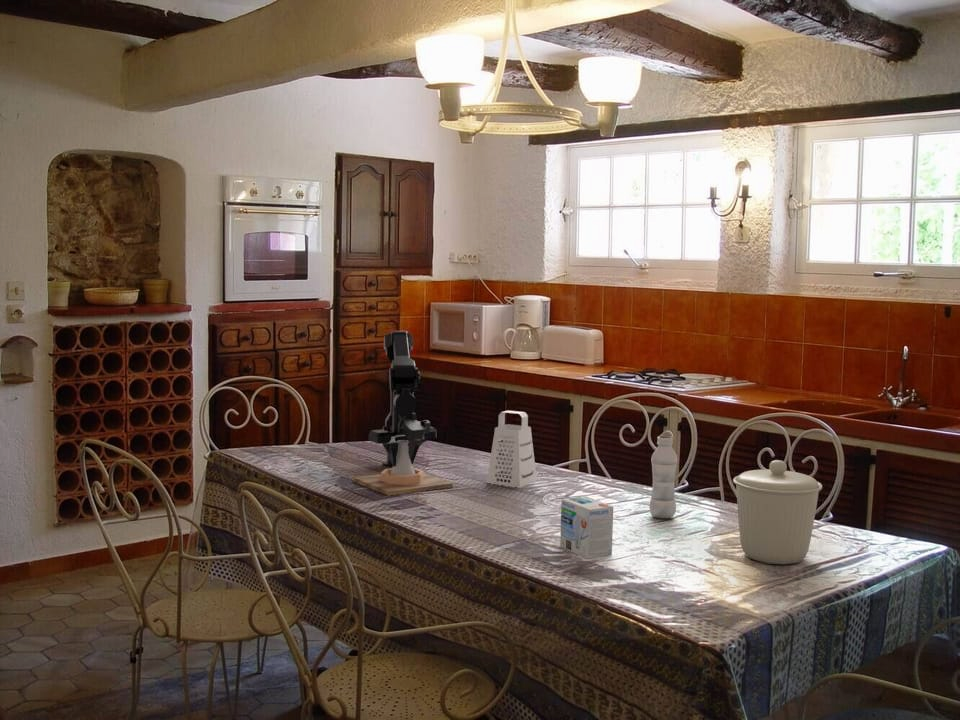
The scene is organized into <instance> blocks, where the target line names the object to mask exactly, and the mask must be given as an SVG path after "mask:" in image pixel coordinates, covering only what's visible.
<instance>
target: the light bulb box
mask: <svg viewBox="0 0 960 720" xmlns="http://www.w3.org/2000/svg"><path fill="white" fill-rule="evenodd" d="M560 507H561V511H560V512H561V513H560V535H559V537H560V538H559V539H560V541H559V547H561V548H563V549H565V550H567V551H569V552H571V553H573V554H575V555H577V556H579V557H582V558H584V559H585V560H592V559H598V558H602V557H603V558H604V557H609V556H613V530H614V529H613V528H614V527H613V526H614V505H610V504H608V503H605V502H602V501H600V500H596V499H594V498H592V497H588V496H585V495H584V496H583V495H582V496H578V497H569V498H564V499H563V498H562V499H561V506H560Z"/></svg>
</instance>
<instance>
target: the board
mask: <svg viewBox="0 0 960 720" xmlns="http://www.w3.org/2000/svg"><path fill="white" fill-rule="evenodd" d="M352 479H353V480H352V482H353V483H356V484H358V485H360V486H362V487H365V486H366V488H367V489H370V488H371V489H370V490H373V491H375V490H376V492H378V493H380V492H381V493H380V494H383V495H385V494H386V495H385V496H387V497H391V496H390V495H393V496H398V495H397V494H400V495H404V494H403V493H407V494H412V493H411V492H415V493H420V492H419V491H422V492H427V491H426V490H430V491H434V490H433V489H437V490H441V489H440V488H445V489H449V488H448V487H452V488H453V482H450V481H447V480H444V479H442V478H439V477H436V476H434V475H430V474H428V473H425V472H424V480H423V481H422V482H421V483H417V484H409V485H397V484H388V483H385V482H383V481H381V473H380V474H371V475H363V476H355V477H353V478H352Z"/></svg>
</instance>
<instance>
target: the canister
mask: <svg viewBox="0 0 960 720" xmlns="http://www.w3.org/2000/svg"><path fill="white" fill-rule="evenodd" d="M768 466H769V467H768V469H753V470H747V471H744V472H742V473H740V474H738V475H737V476H734V478H733V479H732V481H733V483H734V485H736V488H735V489H736V500H737V501H736V502H737V518H738V519H737V520H738V528H739V538H740V545H741V549H742V551H743V552H744V554H745V556H747V557H748V558H750V559H752V560H753V561H757V562H760V563H764V564H770V565H792V564H798V563H800V562H802V561H803V560H804V559H805V558H806V557H807V554H808V552H809V549H810V545H811V539H812V534H813V528H814V523H815V516H816V512H817V505H818V499H819V493H820V491H822V489H823V485H822V483H821V482H819V481H817V480H816V479H815V478H814V477H812V476H810V475H807V474H804V473H800V472H796V471H790V470H787V468H788V467H787V463H786V462H785V461H783V460H781V459H780V460H779V459H775V460H772V461H770V463H769V465H768Z"/></svg>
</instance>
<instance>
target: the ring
mask: <svg viewBox="0 0 960 720" xmlns="http://www.w3.org/2000/svg"><path fill="white" fill-rule="evenodd" d="M392 468H393V467H390V468H385V469H383V470H382V471H381V472H380V474H381V481H383V482H385V483H388V484H397V485H409V484H417V483H421V482H422V481H423V480H424V473H425V471H424V470H422V469H419V468H415V467H413V469H414V472H415V474H413V475H391V474H390V473H391V470H392Z"/></svg>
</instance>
